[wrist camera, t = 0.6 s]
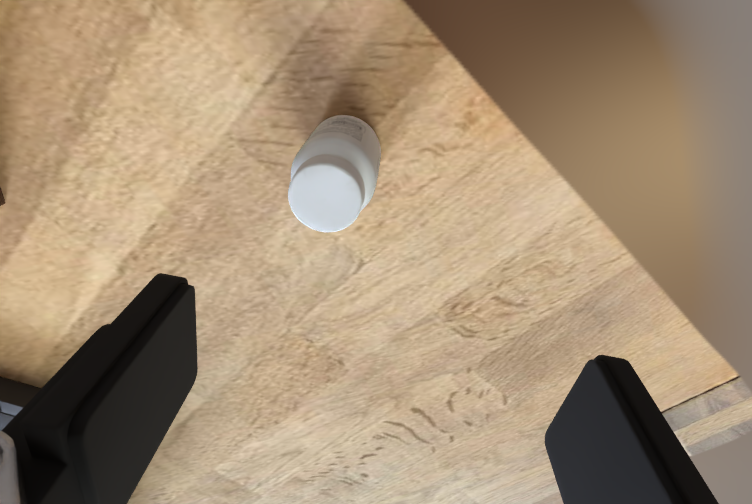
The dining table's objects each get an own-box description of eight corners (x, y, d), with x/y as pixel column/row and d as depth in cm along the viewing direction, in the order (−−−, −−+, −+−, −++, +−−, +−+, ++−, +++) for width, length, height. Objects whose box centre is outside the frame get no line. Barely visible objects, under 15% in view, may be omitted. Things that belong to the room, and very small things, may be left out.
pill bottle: (295, 137, 26) (257, 182, 19) (356, 99, 25) (338, 133, 18) (335, 196, 28) (312, 256, 21) (394, 163, 26) (390, 217, 20)
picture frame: (133, 414, 40) (-109, 345, 37) (115, 441, 37) (-146, 369, 35) (121, 503, 47) (-81, 451, 45) (105, 530, 45) (-109, 476, 42)
